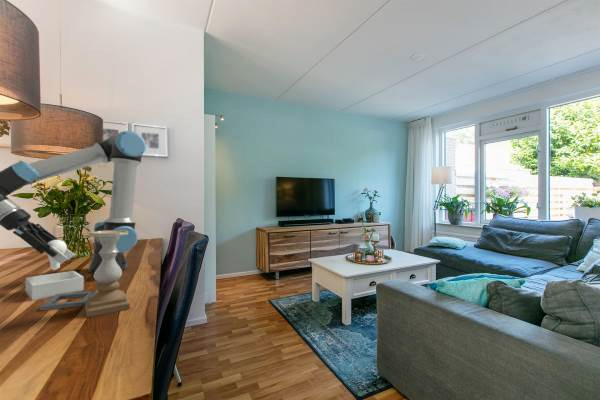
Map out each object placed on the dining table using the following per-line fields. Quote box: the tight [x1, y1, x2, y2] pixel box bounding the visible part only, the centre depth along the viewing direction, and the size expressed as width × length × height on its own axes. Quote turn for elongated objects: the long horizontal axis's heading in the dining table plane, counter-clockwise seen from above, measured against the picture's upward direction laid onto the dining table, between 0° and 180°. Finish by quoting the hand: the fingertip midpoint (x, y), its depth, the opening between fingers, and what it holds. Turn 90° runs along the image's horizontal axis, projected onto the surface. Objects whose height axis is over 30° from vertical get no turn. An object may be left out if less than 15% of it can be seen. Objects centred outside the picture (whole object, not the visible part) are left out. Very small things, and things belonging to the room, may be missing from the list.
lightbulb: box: [46, 239, 68, 271], centre depth 99 cm, size 6×6×11 cm
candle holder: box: [84, 230, 131, 318], centre depth 85 cm, size 11×11×24 cm
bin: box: [25, 270, 85, 302], centre depth 99 cm, size 14×14×5 cm
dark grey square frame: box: [39, 290, 98, 311], centre depth 89 cm, size 12×12×1 cm
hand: (68, 259), depth 100 cm, fingers closed on lightbulb, 6 cm apart
